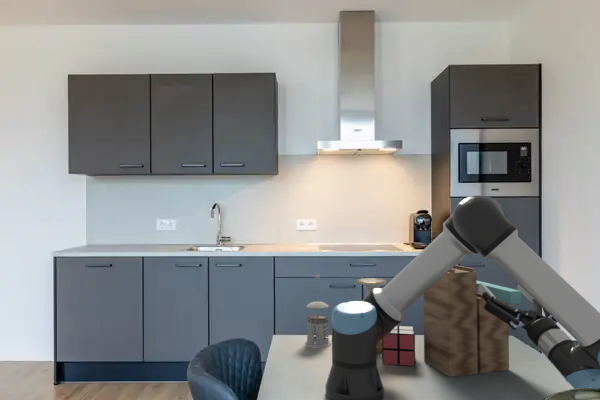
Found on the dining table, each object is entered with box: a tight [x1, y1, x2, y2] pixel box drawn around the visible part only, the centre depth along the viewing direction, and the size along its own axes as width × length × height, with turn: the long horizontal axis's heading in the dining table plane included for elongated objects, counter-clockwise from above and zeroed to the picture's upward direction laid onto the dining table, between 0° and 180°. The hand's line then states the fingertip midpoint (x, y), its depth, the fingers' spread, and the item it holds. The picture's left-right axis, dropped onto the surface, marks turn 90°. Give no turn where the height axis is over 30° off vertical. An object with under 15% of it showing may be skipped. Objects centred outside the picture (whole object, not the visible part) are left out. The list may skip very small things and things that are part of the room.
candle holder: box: [356, 277, 387, 355], centre depth 161 cm, size 11×11×24 cm
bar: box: [476, 279, 522, 305], centre depth 141 cm, size 24×4×4 cm, turn 15°
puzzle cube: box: [381, 325, 416, 367], centre depth 148 cm, size 10×10×10 cm
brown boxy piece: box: [423, 264, 510, 377], centre depth 143 cm, size 20×14×31 cm
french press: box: [304, 274, 332, 349], centre depth 166 cm, size 10×12×25 cm
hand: (499, 285), depth 136 cm, fingers open, 13 cm apart
